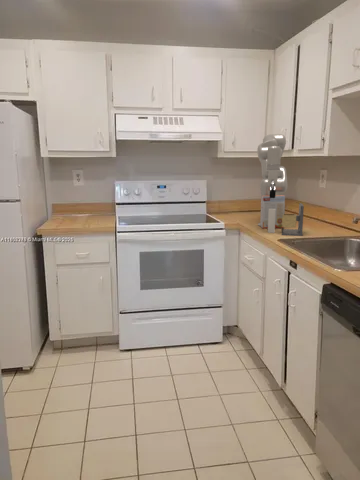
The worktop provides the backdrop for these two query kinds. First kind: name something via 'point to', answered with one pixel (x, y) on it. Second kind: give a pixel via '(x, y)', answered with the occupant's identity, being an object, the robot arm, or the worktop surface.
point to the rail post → (271, 221)
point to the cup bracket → (293, 222)
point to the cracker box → (272, 203)
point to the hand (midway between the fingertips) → (272, 197)
